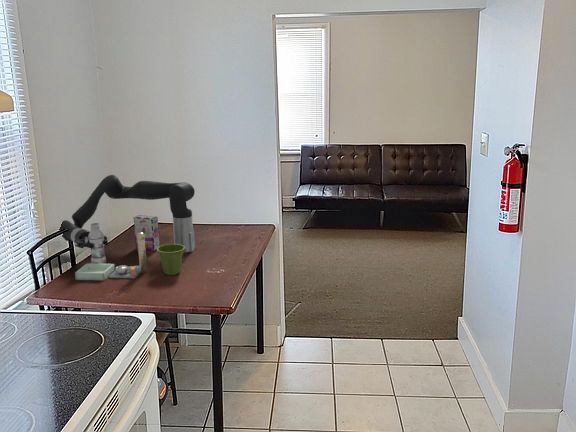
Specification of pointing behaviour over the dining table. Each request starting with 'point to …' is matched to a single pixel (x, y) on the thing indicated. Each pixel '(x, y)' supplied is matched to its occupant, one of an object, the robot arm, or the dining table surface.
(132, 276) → the base
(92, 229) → the plastic bottle
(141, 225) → the candy bar box
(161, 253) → the plant pot
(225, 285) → the dining table surface
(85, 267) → the tray
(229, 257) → the dining table surface
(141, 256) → the beige silver l-shaped piece
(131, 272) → the stop block
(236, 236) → the dining table surface
